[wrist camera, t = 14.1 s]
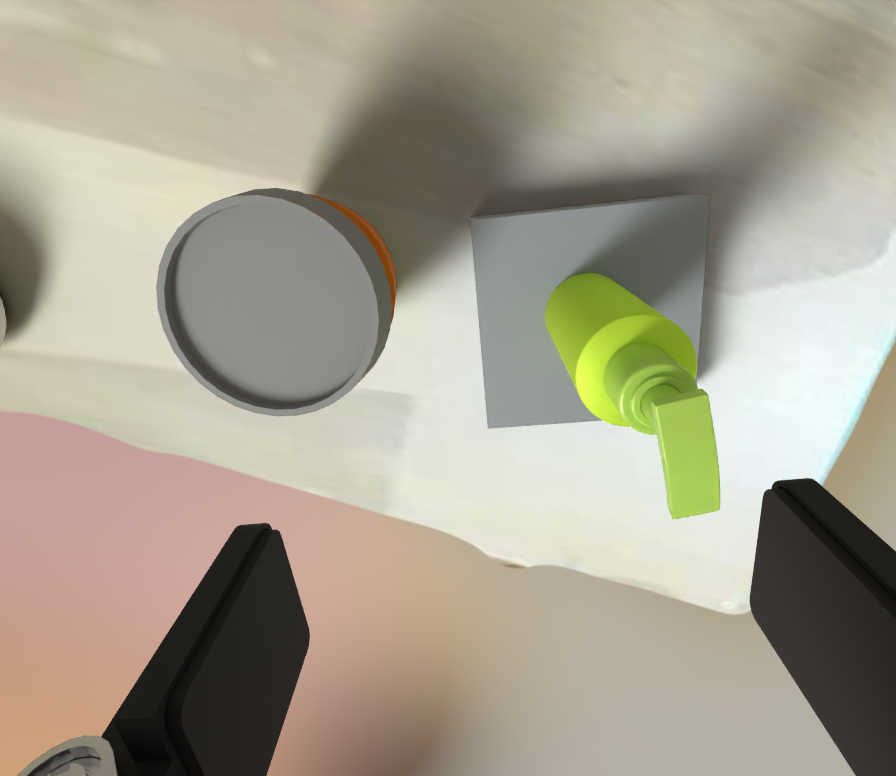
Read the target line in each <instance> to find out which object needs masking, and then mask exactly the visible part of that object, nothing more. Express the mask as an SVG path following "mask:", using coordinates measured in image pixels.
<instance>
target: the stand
mask: <svg viewBox="0 0 896 776" xmlns="http://www.w3.org/2000/svg"><path fill="white" fill-rule="evenodd" d="M709 206H710V195H700V194H682V195H672V196H663V197H653V198H644V199H635V200H625V201H616V202H606V203H597V204H587V205H578V206H569V207H559V208H550V209H540V210H531V211H521V212H512V213H502V214H493V215H484V216H474V217H471V220H470V222H471V234H472V245H473V257H474V269H475V281H476V293H477V305H478V317H479V329H480V340H481V352H482V364H483V376H484V388H485V400H486V412H487V423H488V428H502V427H516V426H530V425H544V424H558V423H573V422H587V421H601V419H600V418H598V417H596V416H595V415H594V414H593V413H591V412H590V411H589V410H588V408H587V407H586V406H585V405H584V403H583V402H582V400H581V398H580V396H579V394H578V392H577V390H576V388H575V386H574V384H573V382H572V379H571V377H570V375H569V373H568V371H567V369H566V367H565V365H564V363H563V361H562V359H561V356H560V354H559V352H558V350H557V348H556V346H555V344H554V342H553V340H552V338H551V336H550V333H549V331H548V329H547V326H546V321H545V311H546V306H547V302H548V300H549V298H550V296H551V294H552V293H553V291H554V290H555V289H556V288H557V287H558V286H559V285H560V284H561V283H562V282H563V281H565V280H566V279H568V278H570V277H572V276H575V275H578V274H582V273H597V274H601V275H604V276H606V277H608V278H610V279H612V280H613V281H614V282H616V283H617V284H619V285H620V286H622V287H623V288H625V289H626V290H627V291H629V292H630V293H632V294H633V295H635V296H636V297H637V298H639V299H640V300H642V301H643V302H645V303H646V304H648V305H649V306H650V307H652V308H653V309H655V310H656V311H658V312H659V313H660V314H662V315H663V316H665V317H666V318H668V319H669V320H671V321H672V322H673V323H675V324H676V325H678V326H679V327H680V328H681V329H682V330H683V331H684V332H685V333H686V334H687V335H688V337H689V338H690V340H691V342H692V344H693V346H694V349H695V352H696V357H697V369H698V356H699V342H700V329H701V315H702V301H703V288H704V274H705V261H706V247H707V234H708V220H709ZM695 382H696V383H697V373H696V378H695Z"/></svg>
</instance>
